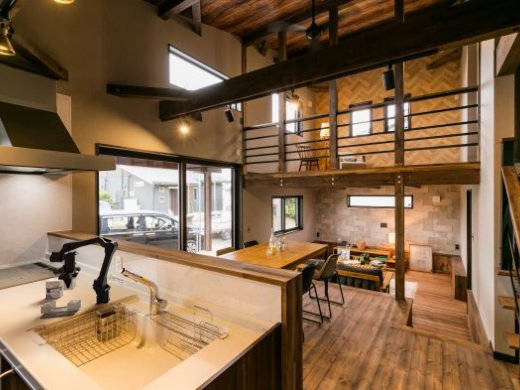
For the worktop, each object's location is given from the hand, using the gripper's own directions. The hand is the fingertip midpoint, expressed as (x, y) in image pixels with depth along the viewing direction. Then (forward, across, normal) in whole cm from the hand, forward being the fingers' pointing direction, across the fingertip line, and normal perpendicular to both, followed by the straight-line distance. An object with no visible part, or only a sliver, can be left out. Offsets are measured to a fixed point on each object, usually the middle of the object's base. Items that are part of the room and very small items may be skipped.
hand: (70, 286), depth 172 cm
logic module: (+1, 0, 0) cm, 1 cm away
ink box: (+11, -15, -14) cm, 24 cm away
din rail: (+11, +13, 0) cm, 17 cm away
